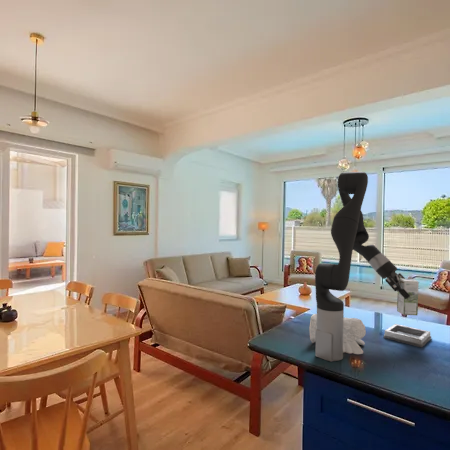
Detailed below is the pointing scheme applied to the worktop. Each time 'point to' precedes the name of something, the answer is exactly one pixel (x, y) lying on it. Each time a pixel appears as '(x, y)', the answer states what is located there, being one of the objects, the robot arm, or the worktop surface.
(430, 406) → the worktop surface
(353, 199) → the robot arm
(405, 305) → the syrup box
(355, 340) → the cherub figurine
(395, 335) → the tray
